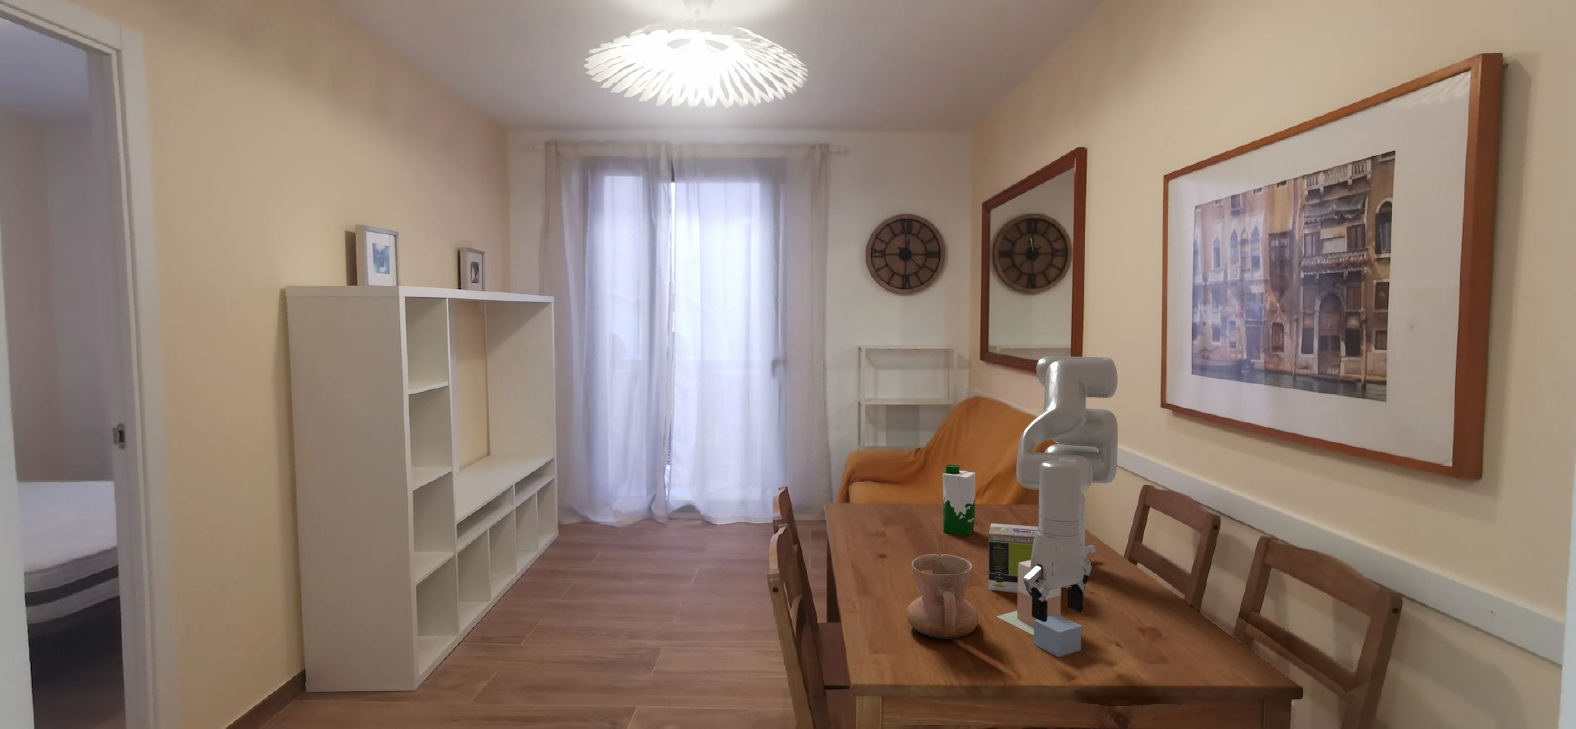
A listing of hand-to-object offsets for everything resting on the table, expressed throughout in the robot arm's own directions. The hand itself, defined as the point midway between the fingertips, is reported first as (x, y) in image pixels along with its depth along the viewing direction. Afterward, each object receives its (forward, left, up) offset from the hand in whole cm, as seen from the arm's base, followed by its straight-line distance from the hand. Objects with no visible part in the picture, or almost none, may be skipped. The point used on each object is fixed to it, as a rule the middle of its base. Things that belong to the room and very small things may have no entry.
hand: (1057, 614), depth 135 cm
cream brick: (-6, -10, -1) cm, 12 cm away
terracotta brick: (-6, -10, -7) cm, 14 cm away
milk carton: (-37, -69, -8) cm, 79 cm away
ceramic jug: (+13, -18, -8) cm, 24 cm away
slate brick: (0, 0, -8) cm, 8 cm away
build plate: (-6, -10, -8) cm, 14 cm away
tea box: (-18, -26, -8) cm, 33 cm away
